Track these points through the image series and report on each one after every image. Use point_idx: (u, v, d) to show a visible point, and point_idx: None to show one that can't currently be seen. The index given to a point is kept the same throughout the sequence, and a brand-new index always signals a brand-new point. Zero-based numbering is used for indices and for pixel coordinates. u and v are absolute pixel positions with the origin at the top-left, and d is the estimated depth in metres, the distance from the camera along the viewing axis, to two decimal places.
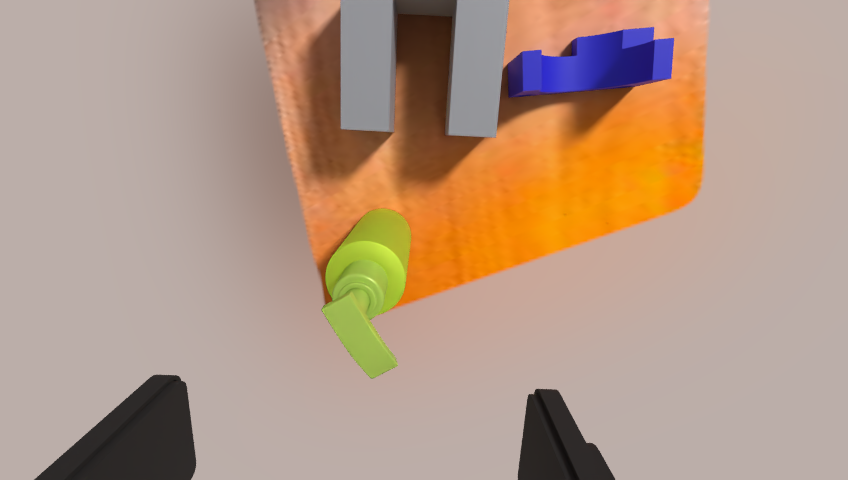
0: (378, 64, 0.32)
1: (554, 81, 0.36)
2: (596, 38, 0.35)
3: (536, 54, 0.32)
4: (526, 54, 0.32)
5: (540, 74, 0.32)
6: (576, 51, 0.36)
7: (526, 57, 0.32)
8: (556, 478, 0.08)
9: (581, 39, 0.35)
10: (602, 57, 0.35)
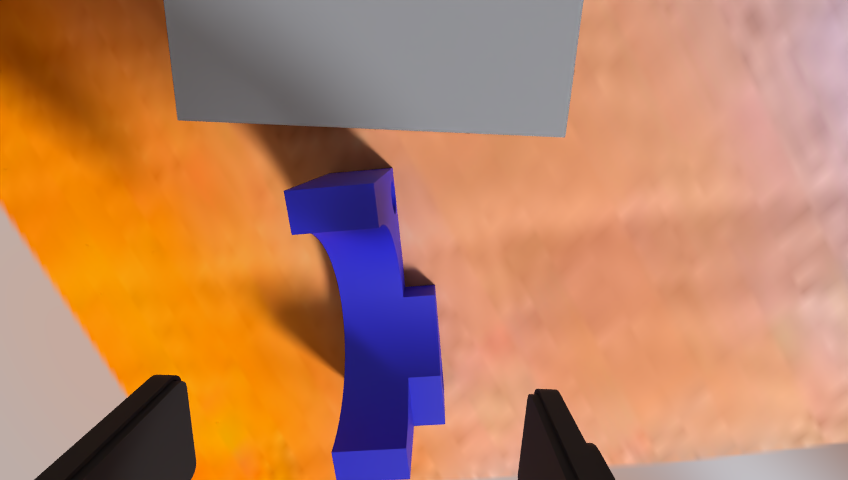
0: None
1: (351, 260, 0.18)
2: (431, 329, 0.19)
3: (368, 217, 0.13)
4: (367, 193, 0.13)
5: (325, 229, 0.13)
6: (411, 295, 0.19)
7: (361, 193, 0.13)
8: (556, 478, 0.08)
9: (431, 302, 0.19)
10: (398, 342, 0.19)
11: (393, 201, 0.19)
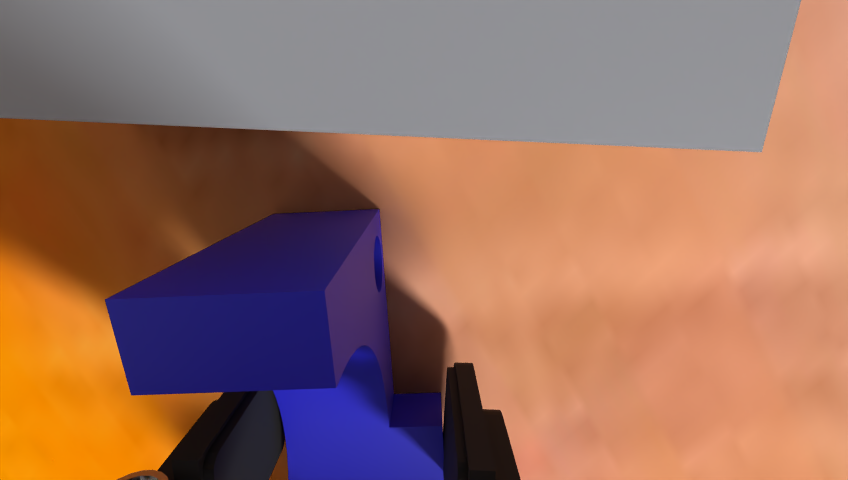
0: None
1: None
2: None
3: (311, 364, 0.06)
4: (308, 312, 0.05)
5: (209, 387, 0.06)
6: (403, 424, 0.11)
7: (293, 312, 0.05)
8: (452, 435, 0.09)
9: (436, 437, 0.11)
10: None
11: (378, 265, 0.11)
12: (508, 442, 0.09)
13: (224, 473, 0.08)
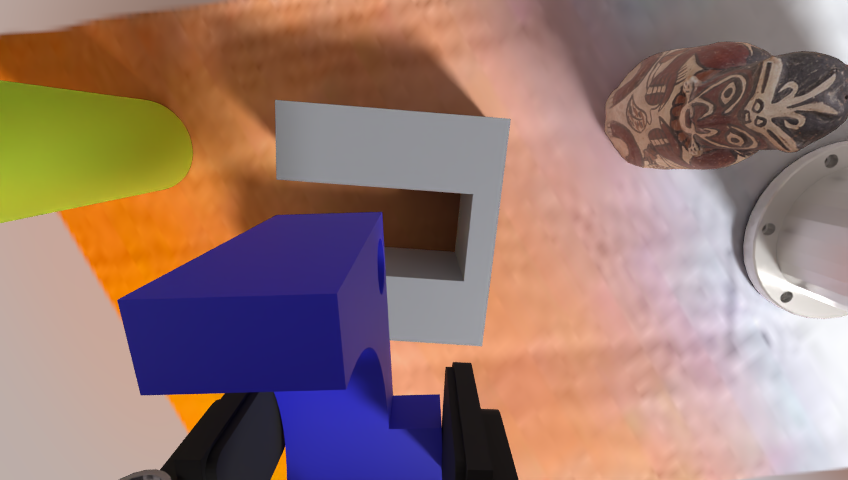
0: (374, 168, 0.21)
1: None
2: None
3: (321, 366, 0.06)
4: (321, 314, 0.05)
5: (219, 388, 0.06)
6: (402, 425, 0.11)
7: (306, 314, 0.05)
8: (450, 435, 0.09)
9: (435, 439, 0.11)
10: None
11: (380, 268, 0.11)
12: (506, 442, 0.09)
13: (226, 473, 0.08)
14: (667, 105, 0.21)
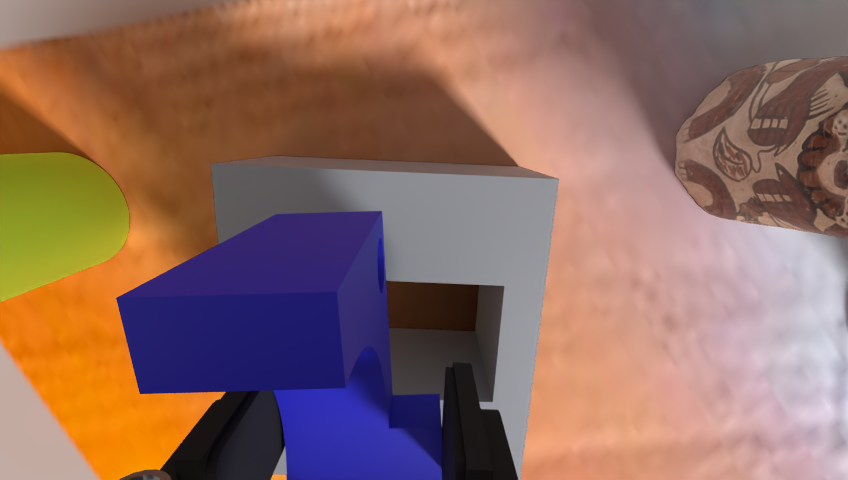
0: None
1: None
2: None
3: (321, 364, 0.06)
4: (320, 313, 0.05)
5: (219, 386, 0.06)
6: (402, 424, 0.11)
7: (305, 312, 0.05)
8: (450, 435, 0.09)
9: (435, 438, 0.11)
10: None
11: (380, 267, 0.11)
12: (506, 442, 0.09)
13: (226, 472, 0.08)
14: (793, 148, 0.14)
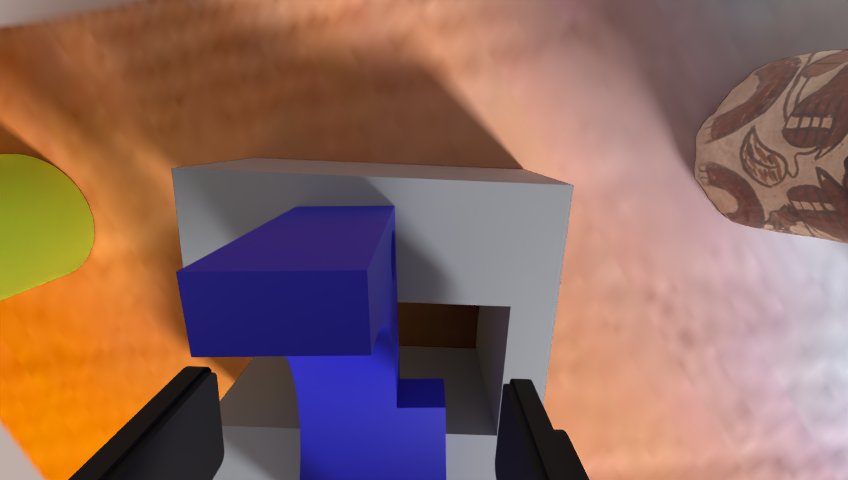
0: None
1: None
2: (437, 458, 0.12)
3: (351, 334, 0.06)
4: (352, 288, 0.06)
5: (261, 351, 0.07)
6: (409, 405, 0.12)
7: (338, 287, 0.06)
8: (523, 461, 0.08)
9: (439, 418, 0.12)
10: (383, 478, 0.12)
11: (391, 257, 0.12)
12: (581, 467, 0.09)
13: None
14: (838, 150, 0.12)
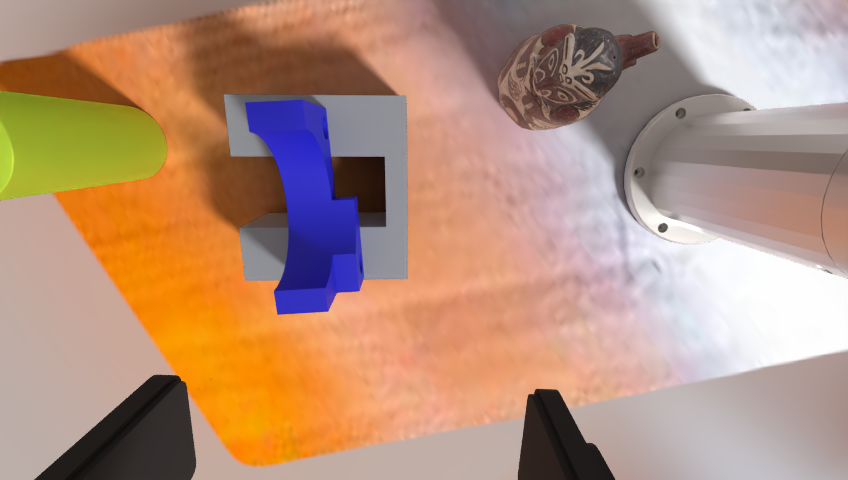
0: None
1: (293, 169, 0.25)
2: (351, 223, 0.27)
3: (299, 121, 0.21)
4: (298, 105, 0.21)
5: (271, 129, 0.21)
6: (337, 200, 0.27)
7: (294, 105, 0.21)
8: (556, 478, 0.08)
9: (351, 205, 0.27)
10: (327, 233, 0.26)
11: (326, 132, 0.27)
12: None
13: None
14: (527, 76, 0.27)
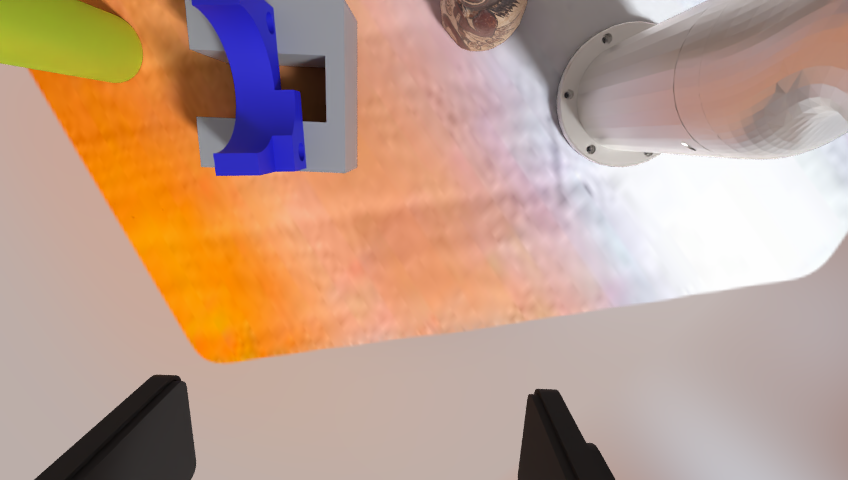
0: None
1: (239, 57, 0.29)
2: (291, 111, 0.30)
3: None
4: None
5: (210, 3, 0.24)
6: (280, 90, 0.30)
7: None
8: (556, 478, 0.08)
9: (292, 95, 0.30)
10: (269, 118, 0.30)
11: (272, 30, 0.30)
12: None
13: None
14: None
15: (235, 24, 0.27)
